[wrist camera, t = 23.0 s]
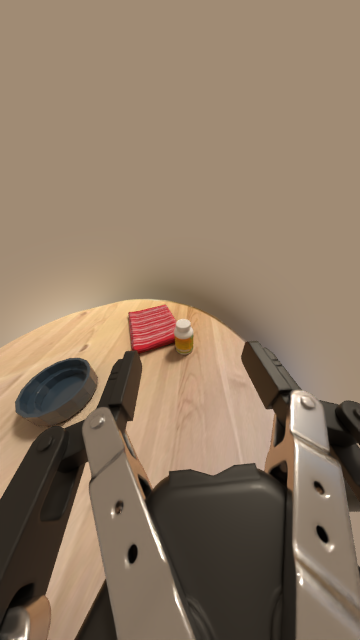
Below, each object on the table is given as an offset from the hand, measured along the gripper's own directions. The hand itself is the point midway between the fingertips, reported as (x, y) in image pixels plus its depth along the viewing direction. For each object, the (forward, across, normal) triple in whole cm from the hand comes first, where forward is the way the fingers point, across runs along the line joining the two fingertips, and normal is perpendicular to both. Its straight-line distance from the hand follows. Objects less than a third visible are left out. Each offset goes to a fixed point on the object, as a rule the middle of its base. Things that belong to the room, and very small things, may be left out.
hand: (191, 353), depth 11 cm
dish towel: (+34, +10, +24) cm, 43 cm away
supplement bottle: (+23, 0, +24) cm, 33 cm away
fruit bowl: (+11, +28, +24) cm, 39 cm away
